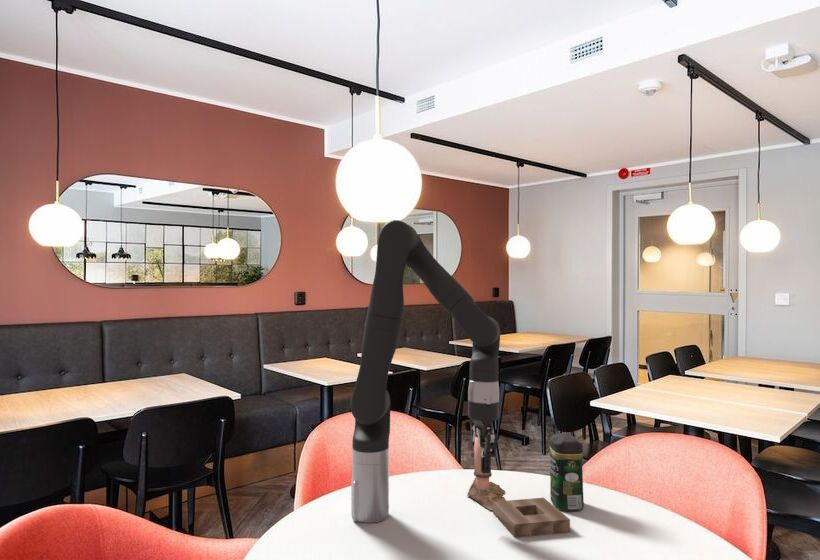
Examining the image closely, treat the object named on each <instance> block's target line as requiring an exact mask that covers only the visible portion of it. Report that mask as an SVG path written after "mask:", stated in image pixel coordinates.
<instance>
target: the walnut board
mask: <svg viewBox="0 0 820 560" xmlns="http://www.w3.org/2000/svg"><path fill="white" fill-rule="evenodd" d="M492 514H493V515H494V517H496V519H497V518H498V519H497V520H499V522H500V523H501V524H502V525H503V526H504V528H505V527H506V528H505V529H506V530H507V531H508V532H509V533H510V534H511V536H513V538H524V537H533V536H534V537H535V536H544V535H554V534H563V533H564V534H565V533H570V532H571V519H570V518H569V516H566V515H565V513H563V512H562V511H560V510H559V509H557V508H556V507H555V506H554V505H553V503H551V502H550V501H548V500H547V498H545V497H537V498H536V497H535V498H534V497H533V498H523V499H512V500H511V499H509V500H505V501H496V502H493V511H492Z"/></svg>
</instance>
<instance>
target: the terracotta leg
mask: <svg viewBox="0 0 820 560" xmlns="http://www.w3.org/2000/svg"><path fill="white" fill-rule="evenodd" d="M482 443H483V444H485V442H482ZM484 448H485V447H484ZM488 452H489V449H488ZM473 465H474V470H473V476H474V477H475V478H476V488H478V489H482V490H486V489H489V482H490V478H491V477H492V476H493V475H492V473H493V472H492V471H491V472H490V473H482V472H481V448H480V447H479V445H478V437H477V436H475V451H474V464H473Z"/></svg>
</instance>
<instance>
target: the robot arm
mask: <svg viewBox="0 0 820 560" xmlns="http://www.w3.org/2000/svg"><path fill="white" fill-rule="evenodd" d="M376 246H377V247H376V262H375V271H374V278H373V283H372V286H371V291H370V298H369V303H368V308H367V311H366V318H365V324H364V330H363V331H364V332H363V338H362V346H361V355H360V356H361V359H360V365H359V369H358V373H357V376H356V377H357V378H356V382H355V385H354V388H353V391H352V394H351V397H350V403H349V407H350V411H351V414H352V417H353V418H354V419H355V420H354V431H353V436H352V441H351V442H352V447H351V449H352V455H351V456H352V459H351V460H352V466H351V467H352V470H351V471H352V475H351V477H350V478H351V480H350V481H351V485H350V486H351V492H350V493H351V496H350V497H351V498H350V499H351V500H350V501H351V503H350V504H351V505H350V506H351V507H350V509H351V511H350V512H351V517H352V520H353V522H354V523H356V522H358V523H359V522H360V523H367V524H368V523H369V524H371V523H379V522H383V521H384V520H386V519H388V518H389V513H390V504H389V503H390V502H389V500H390V499H389V497H390V496H389V494H390V493H389V492H390V488H389V487H390V485H389V484H390V482H389V479H390V478H389V477H390V476H389V475H390V474H389V472H390V471H389V470H390V469H389V467H390V465H389V463H390V461H389V457H390V456H389V452H390V447H389V446H390V445H389V444H390V434H391V397H390V393H389V391H388V390H387V386H388V377H389V371H390V367H391V364H392V362H393V359H394V355H395V354H396V350H397V347H398V344H399V340H400V337H401V333H402V326H403V320H404V319H403V318H404V315H405V314H404V313H405V299H404V298H405V297H404V275H405V268H406V266H407V267H408V268H409V269H411V270H412V271H413V272H414V273H415V274H416V275H417V276H418V277H419V279H420V280H421V281H422V283H423V284H424V285H425V287H426V288H427V290H428V291H429V293H430V294H431V295H432V296H433V298H434V299H435V300H436V302H438V303H439V305H440V306H441V307H442V308H443V309H444V310H445V311H446V313H448V315H449V316H450V317H452V319H453V320H454V321H456V323H457V325H458V327H460V329H461V331H462V332H463V333H464V334H465V336H466V337H467V338H468V339H469V340H470V341H471V342H472V349H471V351H472V353H471V354H472V355H471V357H470V360H469V379H468V380H469V383H468V390H467V395H468V396H467V417H468V418H469V419H470V420H472V421H470V422H469V428H470V440H471V446H472V447H473V450H474V452H475V436H477V437H478V445H479V447H480V448H481V472H482V473H490V472H491V473H492V458H495V457H496V453H497V452H496V451H497V446H498V445H497V443H498V438H499V436H498V434H497V433H495V431H494V427H493V422H494V421H497V420H498V419H499V417H500V386H499V385H500V384H499V369H500V367H499V352H500V345H501V328H500V327H501V326H500V324H499V322H498V321H497V320H496V319H495V318H493V317H491V316H488V315H487V314H486V313H485V311H483V310H482V309H481V308H480V307H479V306H478V305H477V304H476V301H475V299H474V298H473V296H472V295H470V293H469V292H468V291H467V290H466V289H465V288H464V287H463V286H462V284H460V283H459V282H458V281H457V279H456V278H454V277H453V276H452V274H450V273H449V272H448V271H447V270H446V269H445V268H444V267H443V266H442V265H441V264H440V263H439V262H438V261H437V260H436V258H435V257H434V256H433V254H432V253H431V252H430V251H429V250H428V248H427V247H426V245H425V244H424V242H423V241H422V239H421V238H420V236H419V235H418V233H417V231H416V229H415V228H414V227H412V225H410V224H408V223H407V222H404V221H402V220H399V219H393V220H390V221H387V222H386V223H385V224H384V225H383V226H382V227H381V228H380V230H379V233H378V237H377V245H376ZM482 442H485V444H483V443H482ZM484 447H485V448H484ZM488 449H489V452H488Z"/></svg>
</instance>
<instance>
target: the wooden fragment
mask: <svg viewBox="0 0 820 560" xmlns="http://www.w3.org/2000/svg"><path fill="white" fill-rule="evenodd" d="M505 492H506V491H505V489H503V488H501V487H500V484H496V482H493V481H489V489H486V490H482V489H478V488H476V477H474V480H473V481H472V483H471V485H470V487H469V489H468V493H467V495H466V496H467V497H469V498H471V499H473V500H474V501H475V502H477V503H479V504H480V505H482V507H484V508H486V509H488V510H489V512H490V513H491V512H493V502H496V501H506V498H505V497H504V496H503V495H504V494H505Z"/></svg>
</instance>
